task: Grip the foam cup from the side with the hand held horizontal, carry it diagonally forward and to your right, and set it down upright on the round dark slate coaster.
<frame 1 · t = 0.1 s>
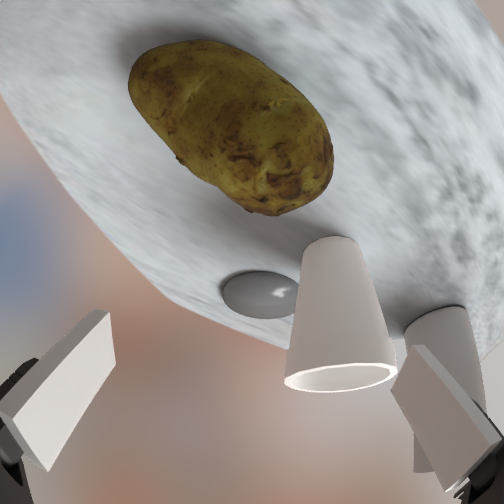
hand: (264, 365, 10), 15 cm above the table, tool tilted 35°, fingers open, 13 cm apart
coaster: (263, 295, 35), on the table
foam cup: (331, 255, 28), on the table
potato: (238, 94, 17), on the table
cylinder vase: (435, 321, 39), on the table
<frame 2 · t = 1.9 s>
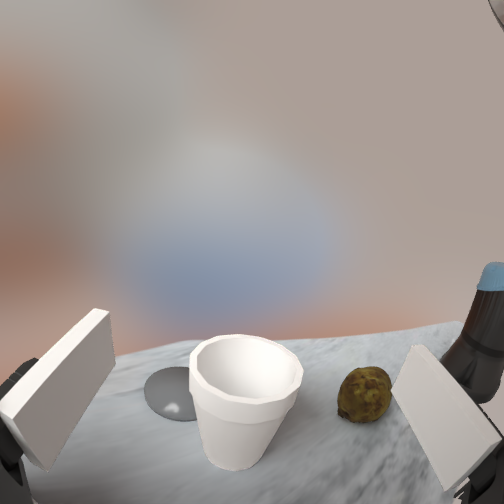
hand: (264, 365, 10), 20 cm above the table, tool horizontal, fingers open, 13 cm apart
coaster: (181, 393, 32), on the table
foam cup: (232, 450, 25), on the table
potato: (359, 411, 32), on the table
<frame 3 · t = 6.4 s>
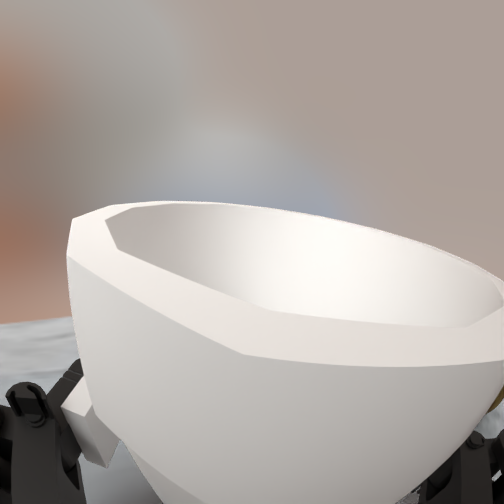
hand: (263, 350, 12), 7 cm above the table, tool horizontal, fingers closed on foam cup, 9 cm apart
when the fingers open (8 cm above the table, at t = 10.9 s): foam cup stays where it is, resting on coaster.
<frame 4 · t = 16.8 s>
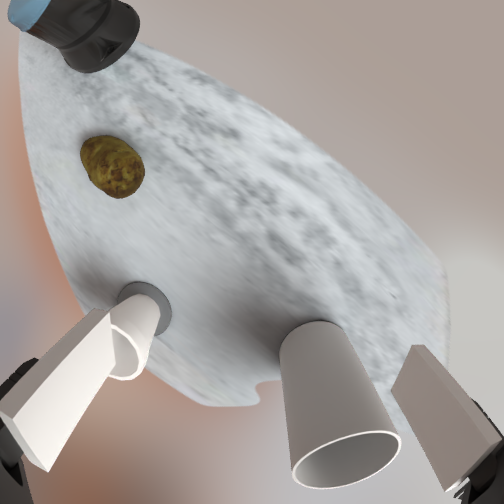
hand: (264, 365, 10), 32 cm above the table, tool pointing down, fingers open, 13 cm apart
coaster: (144, 309, 45), on the table
foam cup: (143, 310, 44), point 1 cm above the table, touching coaster
potato: (122, 163, 39), on the table
cylinder vase: (313, 349, 46), on the table
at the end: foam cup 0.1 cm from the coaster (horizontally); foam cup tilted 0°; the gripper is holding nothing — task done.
